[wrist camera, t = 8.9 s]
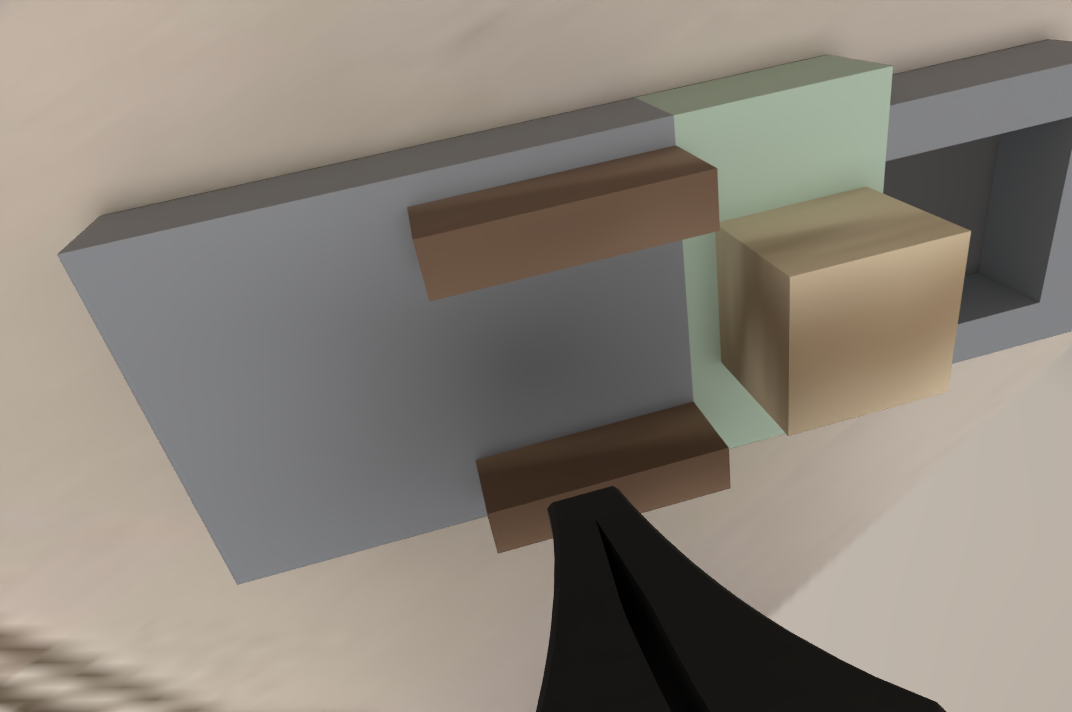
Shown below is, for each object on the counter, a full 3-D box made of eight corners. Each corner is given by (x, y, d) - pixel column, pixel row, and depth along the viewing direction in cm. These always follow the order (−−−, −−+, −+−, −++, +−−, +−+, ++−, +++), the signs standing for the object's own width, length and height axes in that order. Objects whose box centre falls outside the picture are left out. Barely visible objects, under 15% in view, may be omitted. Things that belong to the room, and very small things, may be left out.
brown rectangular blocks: (696, 439, 23) (730, 487, 21) (485, 497, 22) (498, 553, 20) (675, 145, 18) (717, 167, 16) (406, 207, 17) (412, 240, 15)
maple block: (857, 326, 22) (947, 391, 19) (721, 362, 22) (788, 435, 18) (866, 186, 20) (971, 230, 16) (714, 223, 19) (789, 277, 16)
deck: (998, 320, 27) (1064, 356, 25) (250, 520, 24) (237, 584, 22) (1054, 4, 22) (1148, 8, 19) (99, 216, 19) (56, 254, 16)
